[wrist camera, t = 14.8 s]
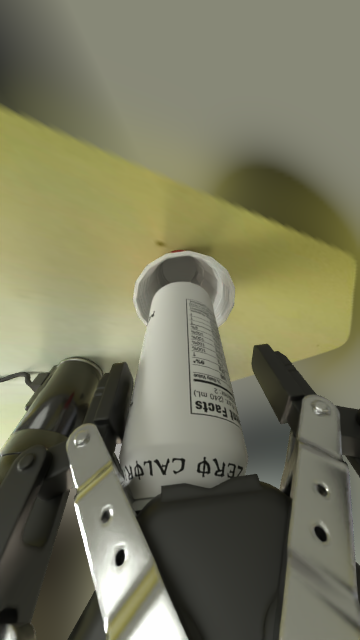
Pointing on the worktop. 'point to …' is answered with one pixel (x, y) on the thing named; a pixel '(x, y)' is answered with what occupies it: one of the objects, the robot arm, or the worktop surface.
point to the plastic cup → (185, 270)
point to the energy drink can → (181, 401)
